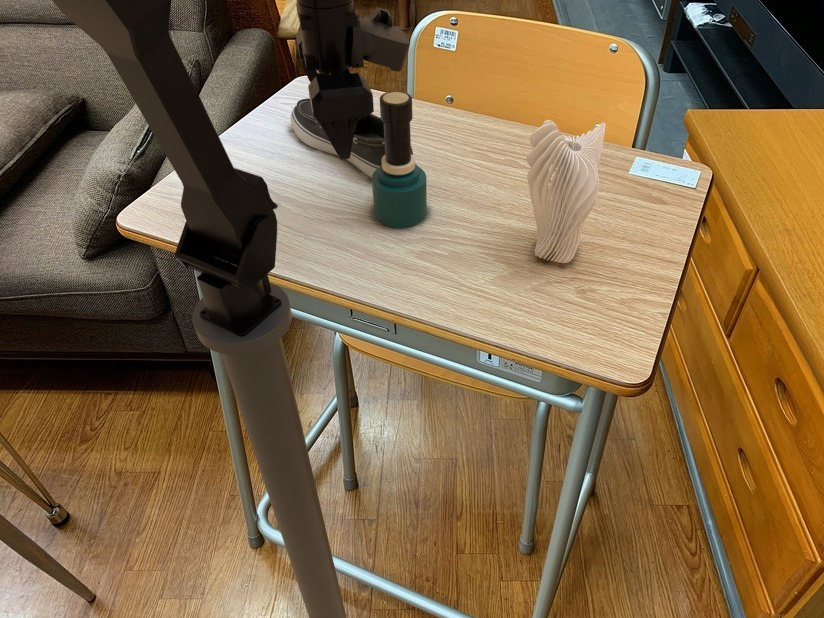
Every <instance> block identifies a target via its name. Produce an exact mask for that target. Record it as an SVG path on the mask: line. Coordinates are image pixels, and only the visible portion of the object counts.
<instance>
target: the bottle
mask: <svg viewBox="0 0 824 618" xmlns="http://www.w3.org/2000/svg"><path fill="white" fill-rule="evenodd" d="M415 163H416V158H415V156H414V154H413V155H412V154H411V161H410V162H409V163H408V164H406V165H402V166H394V165H390V164H389V163H387V162H386V158H385V155H384V156H383V157H382V165H381V166H380V167H379V168H378V169H376V170H375V171H374V173H373V174H372V178H371V188H372V199H373V201H372V202H373V211H374V212H373V213H374V214H373V215H374V217H375V219H376V221H377V222H379V223H380V224H382V225H383V226H386V227H389V228H395V229H404V228H410V227H414V226H416V225H418V224H420V223H422V222H423V221H424V219H426V217H427V213H428V211H427V210H428V207H427V205H428V203H427V200H428V199H427V198H428V196H427V195H428V193H427V192H428V191H427V174H426V172H425V170H424V169H422V168H421V167H420V166H418V164H417V163H416V164H415Z"/></svg>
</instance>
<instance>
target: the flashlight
mask: <svg viewBox="0 0 824 618" xmlns="http://www.w3.org/2000/svg"><path fill="white" fill-rule="evenodd" d="M379 111H380V112H379V115H380V118H381V120H382V122H383V123H384V141H385V158H386V162H387V163H389V164H390V165H394V166H402V165H406V164H408V163H409V162H410V161H411V147H412V142H411V141H412V139H411V138H412V137H411V122H412V120H413V97H412V96H411V94H409V93H408V92H405V91H400V90H391V91H386V92H384V93H382V94H381V95H380V97H379Z"/></svg>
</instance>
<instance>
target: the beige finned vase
mask: <svg viewBox="0 0 824 618" xmlns="http://www.w3.org/2000/svg"><path fill="white" fill-rule="evenodd" d="M606 125H607V124H606V122H601V123H600V125H599V126H595V127H594V128H593V130H588V131H587V133H582V134H581V136H580V135H576V139H575V135H572V137H571V136H570V135H567V136H566V135H564V134H562V132H561V130H560V128H559V126H557V124H556V123H555V122H554V121H552V120H550V119H545V120H544V121H543V123H542V125H541V126H540V127H538V128H536V129H535V130H534V132H533V133H532V134H531V135H530V137H529V142H530V144H531V146H532V148H533V149H532V150H531V151H530V152H529V153H528V155H527V156H526V162H527V164H528V165H529V166H530V169H529V171H528V172H527V175H526V178H527V183H528V187H529V198H530V201H531V206H532V208H533V214H534V219H535V225H536V230H537V231H536V232H537V236H536V244H535V248H534V255H535V256H536V257H538V258H539V259H543V260H546V261H550V262H553V263H555V262H556V263H560V264H568V263H569V262H571V261H572V260H573V259H574V257H575V255H576V252H577V249H578V248H579V244H580V240H581V236H582V233H583V229H584V226H585V221H587V219H588V217H589V215H590V214H591V212H592V211H593V210H594V207H595V205H596V202H597V198H598V193H599V188H600V181H599V180H600V179H599V178H600V177H599V164H600V161H601V156H602V151H603V146H604V140H605V134H606V133H605V132H606V127H607V126H606Z"/></svg>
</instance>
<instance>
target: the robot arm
mask: <svg viewBox="0 0 824 618" xmlns="http://www.w3.org/2000/svg"><path fill="white" fill-rule="evenodd" d="M51 1H52V2H53V4H54V5H55V6H56V7H57V8H58V9H59V11H60V12H61V13H62V14H63V15H64V16H65V17H67V18H68V19H69V20H70V21H71V22H72V23H73V24H74V25H75V26H77V27H78V28H79V29H80V30H81V31H82V32H84V33H85V34H86V35H87V36H88V37H89V38H90V39H92V40H93V41H94V42H95V43H96V44H98V45H99V46H100V48H102V49H103V51H104V52H105V53H106V55H107V57H108V58H109V60H110V62H111V64H112V65H113V67H114V68H115V71H116V72H117V74H118V75H119V77H120V80H121V81H122V82H123V84H124V86H125V88H126V90H127V91H128V92H129V94H130V96H131V98H132V100H133V101H134V103H135V105H136V106H137V108H138V110H139V111H140V113H141V115H142V116H143V119H144V120H145V122H146V124H147V125H148V127H149V129H150V130H151V133H152V134H153V136H154V137H155V139H156V141H157V142H158V144H159V146H160V147H161V149H162V151H163V153H164V154H165V156H166V158H167V159H168V161H169V163H170V165H171V167H172V168H173V170H174V172H175V173H176V175H177V177H178V179H179V180H180V182H181V184H182V186H183V189H182V194H181V200H180V209H181V211H182V213H183V216H184V219H185V223H184V225H183V228H182V232H181V235H180V237H179V240H178V243H177V246H176V249H175V252H174V258H175V259H176V260H177V261H178V263H179V264H180V265H181V266H182V267H184V268H186V269H190V270H193V271H195V272H199V273H200V274H199V275H198V276H197V277H196V280H197V283H198V286H199V290H200V293H201V295H202V296H201V297H203V299H204V302H205V305H206V307H205V308H204V309H203V310H201V311H200V313H199V314H200V317H201V318H203V319H205V320H207V321H209V322H211V323H213V324H215V325H217V326H219V327H221V328H223V329H225V330H227V331H229V332H232V333H234V334H236V335H238V336H240V337H244V336H246V335H248V334H249V333H250V332H251V331H252V330H253V329H254V328H256V327H257V326H258V325H259V324H260V323H261V322H262V321H264V320H265V319H266V318H267V317H268V316H269V315H270V314H272V313H273V312H274V311H275V310H276V309H277V308H278V307H279V306H281V304H282V302H281V299H279V298H277V297H274V296H272V295H270V293H271V287H270V283H271V281H270V278H269V273H270V272H271V271H273V270H274V269H275V267H276V257H277V242H278V219H277V215H276V212H275V210H276V209H277V208H278V204H277V203H275V202H274V200H273V199H272V197H271V194H270V191H269V186H268V184H267V182H266V180H265V179H264V177H262V176H260V175H257V174H254V173H251V172H248V171H245V170H242V169H239V168H236V167H234V165H233V163H232V160H231V159H230V157H229V154H228V153H227V151H226V148H225V147H224V144H223V142H222V140H221V138H220V136H219V134H218V131H217V130H216V127H215V125H214V124H213V122H212V119H211V117H210V115H209V113H208V111H207V110H206V107H205V104H204V102H203V101H202V99H201V96H200V95H199V92H198V90H197V89H196V86H195V84H194V81H193V80H192V78H191V76H190V74H189V72H188V69H187V68H186V65H185V63H184V61H183V59H182V57H181V55H180V53H179V51H178V49H177V46H176V45H175V42H174V40H173V38H172V36H171V33H170V31H169V29H170V28H169V27H170V19H171V18H170V17H171V8H172V1H173V0H51ZM295 7H296V13H297V18H298V21H299V30H298V31H297V32H296V33H295V37H296V39H295V40H296V45H297V51H298V55H299V56H298V57H299V59H300V63H301V67H302V69H303V72H304V74H305V75H306V77H307V79H308V81H309V84H308V85H307V87H308V89H307V90H308V97H309V99H310V102H311V108H312V112H313V116H314V118H315V120H316V121H318V123H319V125H320V126H321V128H322V129H323V131H324V133H325V134H326V136H327V138H328V139H329V141H330V143H331V144H332V146H333V148H334V149H335V151H336V153H337V154H338V156H337V157H338V158H339V159H340V160H347V159H349V158H350V155H351V149H352V144H353V138H354V133H355V128H356V124H357V121H358V120H359V119H361V118H362V117H366V116H368V115H370V114H373V113H374V112H375V108H374V107H375V106H374V94H373V91H372V89H371V86H370V83H369V81H368V80H367V79H366V78H365V77H364V76H363V75H362V74H360V73H359V72H351V69H350V68H352V69H362V68H363V69H364V68H365V64H364V63H365V62H364V61H366V62H368V63H371V64H374V65H379V66H382V67H384V68H388V69H390V70H391V71H392V72H397V73H398V72H402V70H403V67H404V64H405V60H406V57H407V55H408V52H409V48H410V45H411V42H410V40H409V38H408V36H407V34H406V33H405V31H404V30H402V29H401V28H400V27H399V25H393V18H392V15H391V13H390V11H389V10H387V9H384V8H381V7H378V6H376V7H375V8H374V9H373V11H372V12H371V13H370V14H368V16H366V15H364V17H360V16H359V14H356V7H355V5H354V0H296V3H295ZM277 302H278V303H277ZM242 332H243V333H242Z"/></svg>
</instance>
